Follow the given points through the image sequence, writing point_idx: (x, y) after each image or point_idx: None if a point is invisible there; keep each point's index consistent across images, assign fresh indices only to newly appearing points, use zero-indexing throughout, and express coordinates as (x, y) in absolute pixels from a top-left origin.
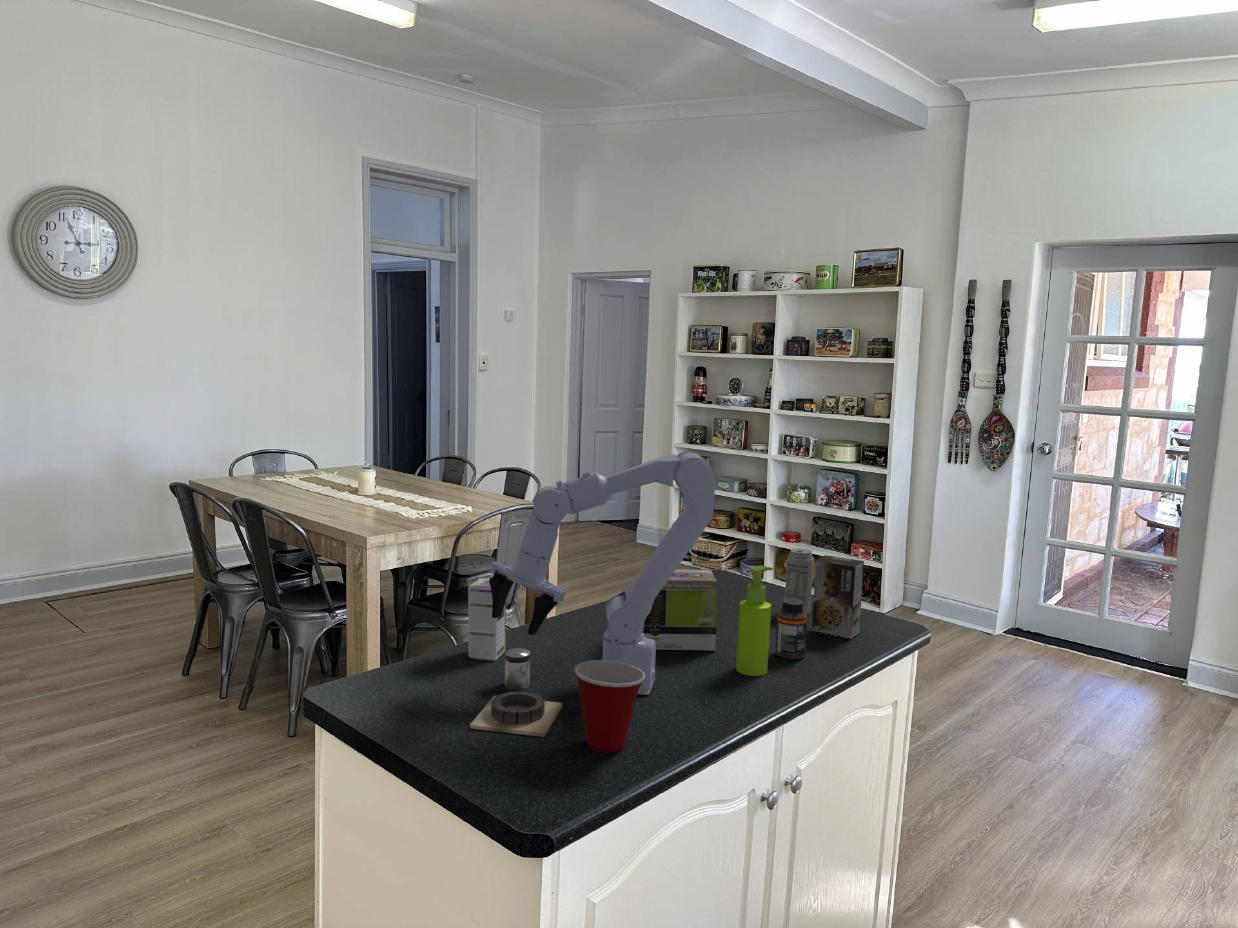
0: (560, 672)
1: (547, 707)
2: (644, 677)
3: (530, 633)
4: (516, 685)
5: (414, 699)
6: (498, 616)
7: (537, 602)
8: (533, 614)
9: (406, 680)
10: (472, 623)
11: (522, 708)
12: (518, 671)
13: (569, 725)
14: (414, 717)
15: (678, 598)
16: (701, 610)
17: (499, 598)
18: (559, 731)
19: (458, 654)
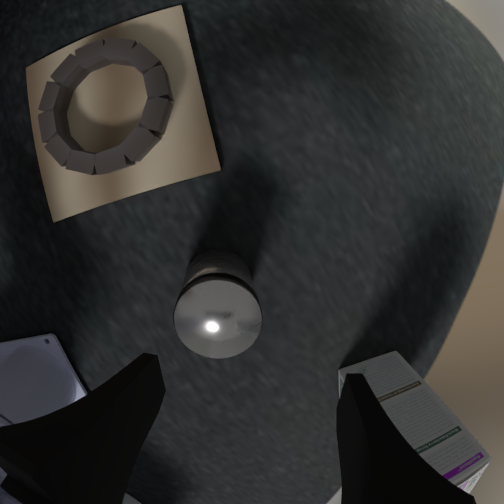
0: (173, 385)
1: (66, 178)
2: None
3: (141, 355)
4: (201, 255)
5: (386, 87)
6: (340, 398)
7: (32, 452)
8: (99, 413)
9: (450, 178)
10: (428, 399)
11: (112, 139)
12: (194, 270)
13: (9, 144)
14: (326, 8)
15: None
16: None
17: (362, 458)
18: (14, 108)
19: (417, 350)
